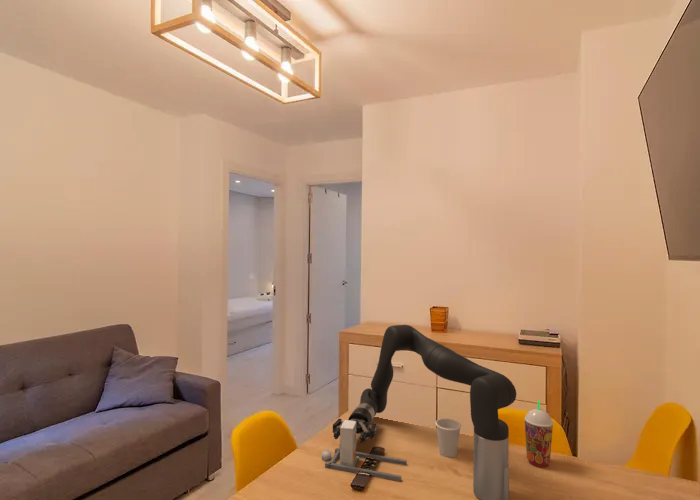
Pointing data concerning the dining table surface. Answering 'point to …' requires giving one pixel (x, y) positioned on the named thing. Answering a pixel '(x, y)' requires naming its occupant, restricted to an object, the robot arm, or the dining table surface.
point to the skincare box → (348, 443)
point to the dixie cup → (448, 436)
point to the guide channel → (327, 456)
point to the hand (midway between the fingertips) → (348, 438)
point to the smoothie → (538, 436)
